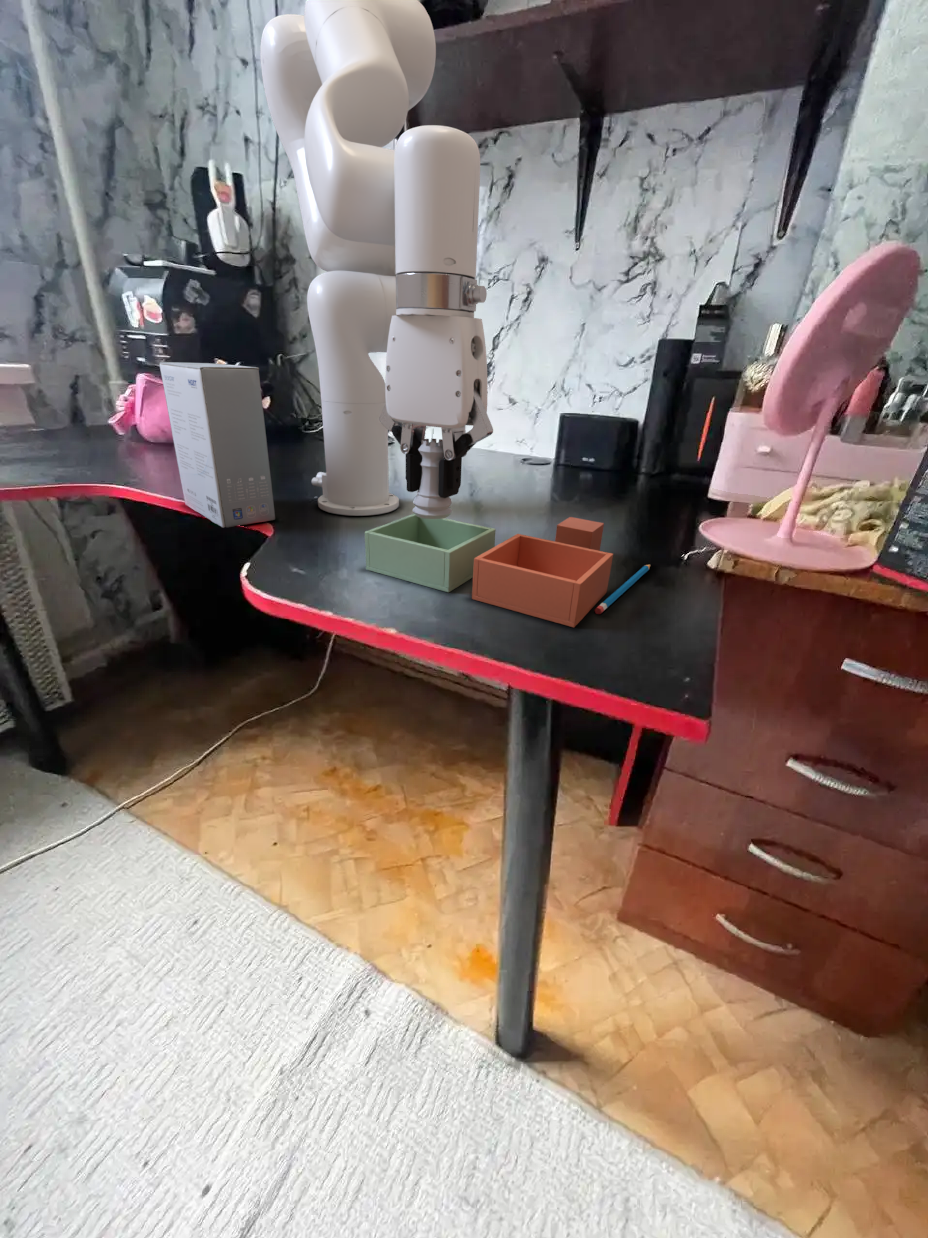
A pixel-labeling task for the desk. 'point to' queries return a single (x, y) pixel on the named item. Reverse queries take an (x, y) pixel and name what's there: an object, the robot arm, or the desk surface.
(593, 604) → the terracotta bin
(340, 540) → the desk surface
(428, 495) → the rook chess piece
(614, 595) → the pencil
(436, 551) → the sage bin
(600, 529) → the terracotta block
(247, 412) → the hard drive box
